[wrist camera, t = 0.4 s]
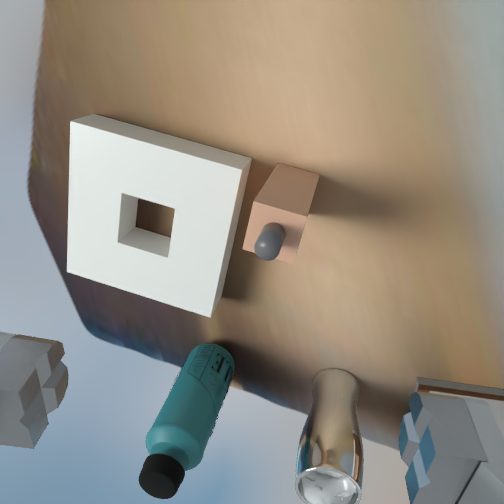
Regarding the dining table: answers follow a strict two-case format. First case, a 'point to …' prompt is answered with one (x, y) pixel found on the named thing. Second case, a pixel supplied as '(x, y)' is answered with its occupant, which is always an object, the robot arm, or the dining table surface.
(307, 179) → the plug
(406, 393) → the dining table surface
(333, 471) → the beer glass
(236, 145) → the dining table surface
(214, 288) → the socket
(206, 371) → the beverage bottle
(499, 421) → the display case
